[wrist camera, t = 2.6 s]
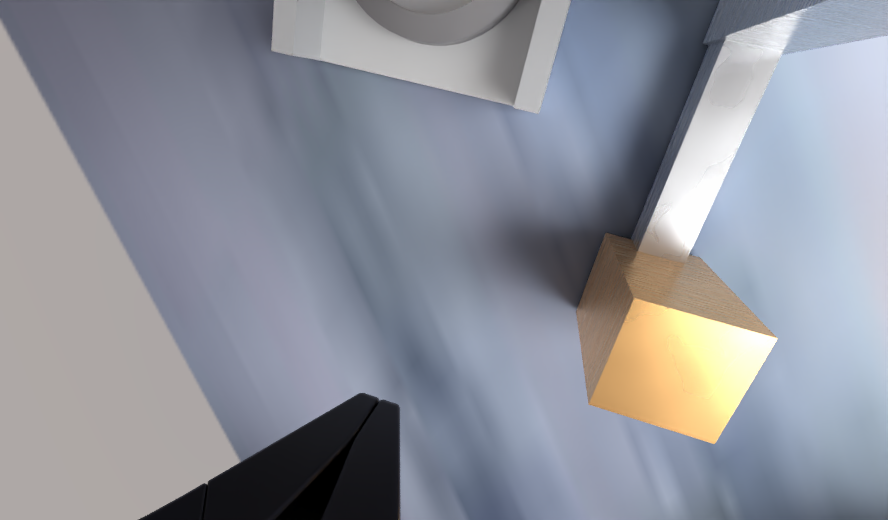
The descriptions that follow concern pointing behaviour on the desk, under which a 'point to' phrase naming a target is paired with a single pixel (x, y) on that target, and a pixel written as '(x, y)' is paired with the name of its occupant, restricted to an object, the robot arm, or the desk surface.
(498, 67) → the gray square tray
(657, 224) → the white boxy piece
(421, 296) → the desk surface
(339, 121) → the desk surface
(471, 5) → the white cylinder
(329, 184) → the desk surface
